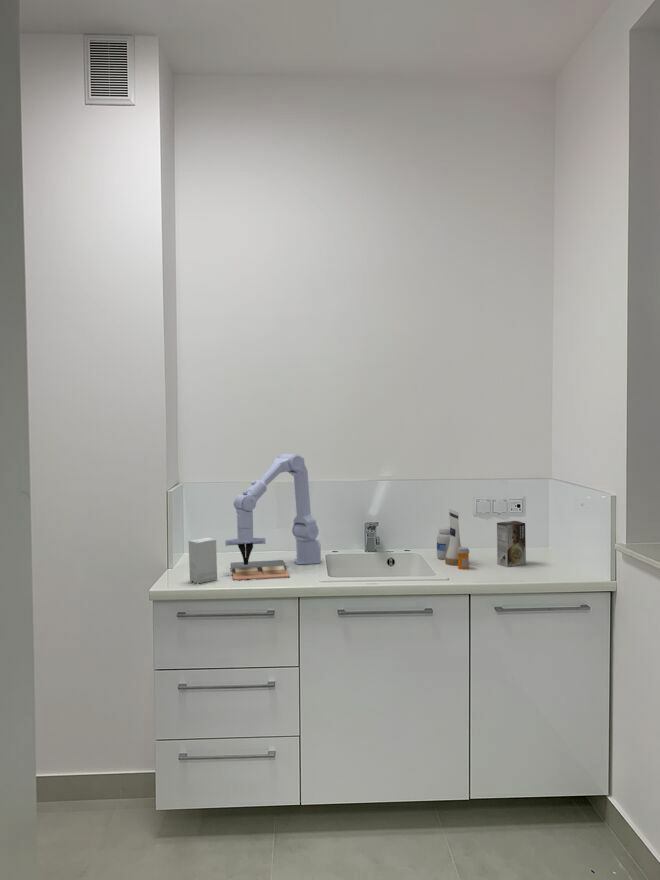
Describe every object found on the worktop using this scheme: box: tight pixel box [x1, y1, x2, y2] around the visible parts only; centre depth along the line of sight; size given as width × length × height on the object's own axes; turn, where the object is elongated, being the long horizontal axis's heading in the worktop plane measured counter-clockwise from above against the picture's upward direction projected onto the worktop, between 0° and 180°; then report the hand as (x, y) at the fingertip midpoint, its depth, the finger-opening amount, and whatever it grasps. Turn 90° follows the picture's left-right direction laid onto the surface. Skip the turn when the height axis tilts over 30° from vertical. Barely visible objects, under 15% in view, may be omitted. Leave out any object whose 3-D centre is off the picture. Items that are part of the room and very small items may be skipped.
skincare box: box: [188, 536, 218, 584], centre depth 247 cm, size 8×6×15 cm
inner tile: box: [262, 566, 285, 575], centre depth 257 cm, size 8×6×2 cm
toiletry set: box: [436, 509, 470, 570], centre depth 272 cm, size 25×8×20 cm, turn 10°
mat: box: [231, 569, 291, 581], centre depth 254 cm, size 20×10×1 cm, turn 101°
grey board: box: [230, 559, 287, 574], centre depth 265 cm, size 20×11×2 cm, turn 101°
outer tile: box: [235, 567, 258, 576], centre depth 255 cm, size 8×6×2 cm
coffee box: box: [496, 520, 527, 568], centre depth 268 cm, size 9×6×16 cm
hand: (245, 564), depth 258 cm, fingers closed
